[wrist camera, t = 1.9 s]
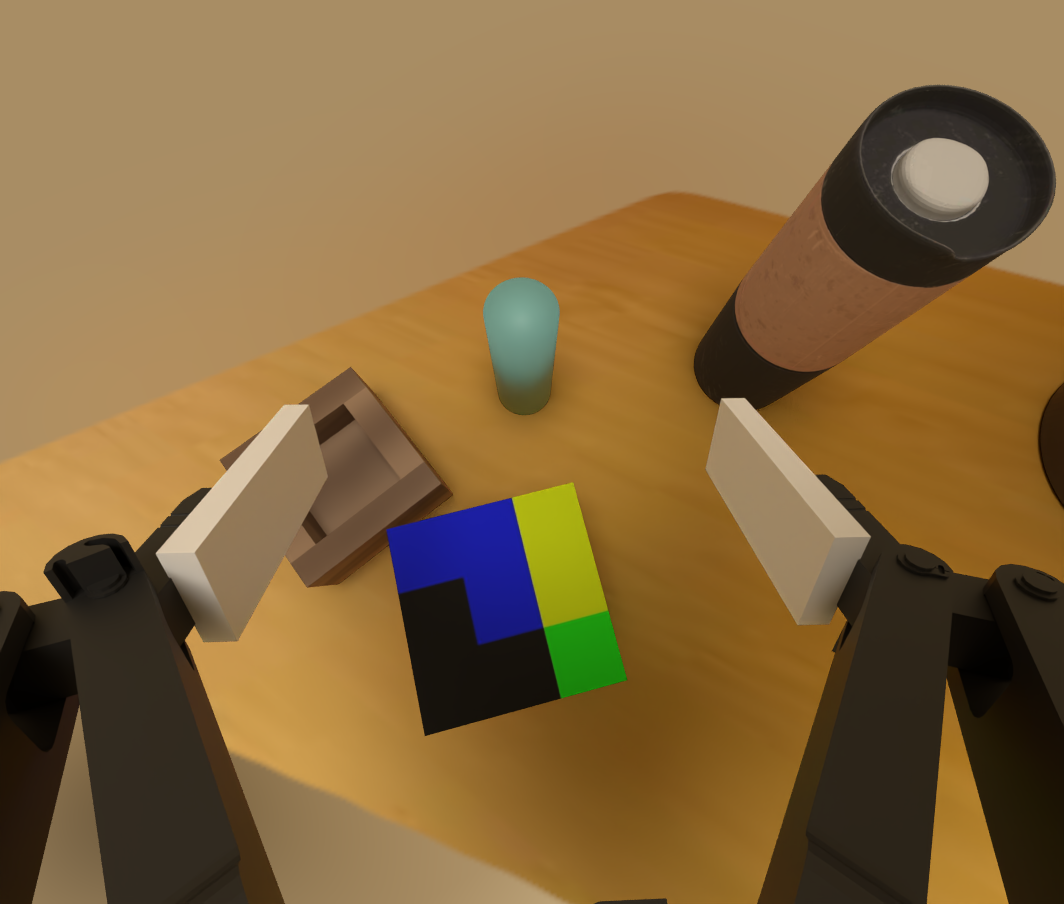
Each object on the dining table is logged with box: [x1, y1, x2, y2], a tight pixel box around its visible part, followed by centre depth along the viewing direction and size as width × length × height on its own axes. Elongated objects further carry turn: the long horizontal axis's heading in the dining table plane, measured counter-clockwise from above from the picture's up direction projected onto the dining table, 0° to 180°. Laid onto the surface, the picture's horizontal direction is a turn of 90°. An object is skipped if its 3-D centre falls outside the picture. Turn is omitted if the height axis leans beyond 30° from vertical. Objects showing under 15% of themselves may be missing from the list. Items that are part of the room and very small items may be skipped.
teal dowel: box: [483, 278, 559, 415], centre depth 32 cm, size 4×4×12 cm
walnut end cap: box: [220, 367, 453, 587], centre depth 34 cm, size 10×10×5 cm
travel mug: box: [694, 85, 1056, 410], centre depth 28 cm, size 8×8×20 cm
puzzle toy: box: [386, 483, 627, 736], centre depth 30 cm, size 10×10×10 cm
